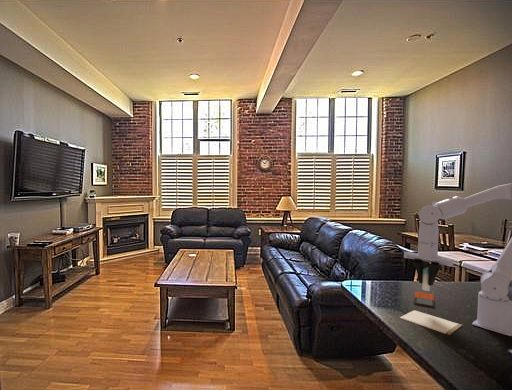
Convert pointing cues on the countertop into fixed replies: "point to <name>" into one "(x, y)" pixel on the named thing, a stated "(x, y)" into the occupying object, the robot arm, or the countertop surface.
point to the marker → (425, 280)
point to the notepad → (431, 322)
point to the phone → (424, 300)
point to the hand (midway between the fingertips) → (426, 283)
